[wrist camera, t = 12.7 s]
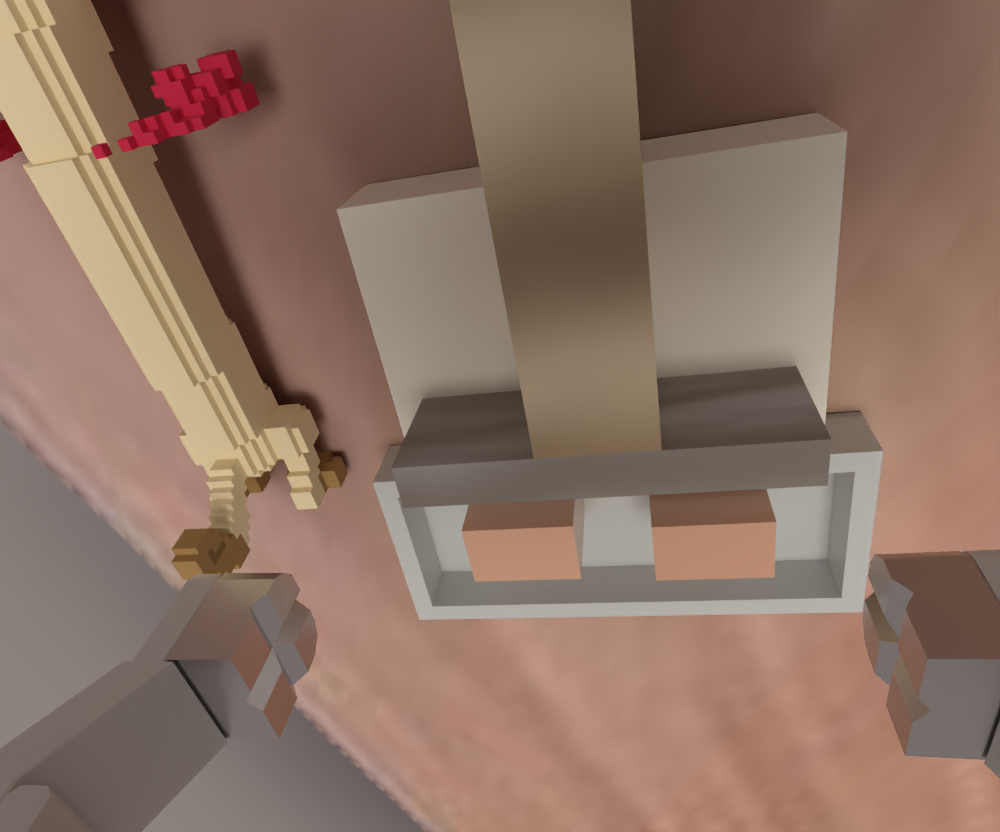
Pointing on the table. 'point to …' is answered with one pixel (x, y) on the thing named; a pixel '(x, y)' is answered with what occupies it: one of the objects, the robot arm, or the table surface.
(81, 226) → the beige long curved piece
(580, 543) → the tile
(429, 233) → the board
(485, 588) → the tray
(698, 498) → the tile
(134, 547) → the table surface
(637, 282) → the scraper
